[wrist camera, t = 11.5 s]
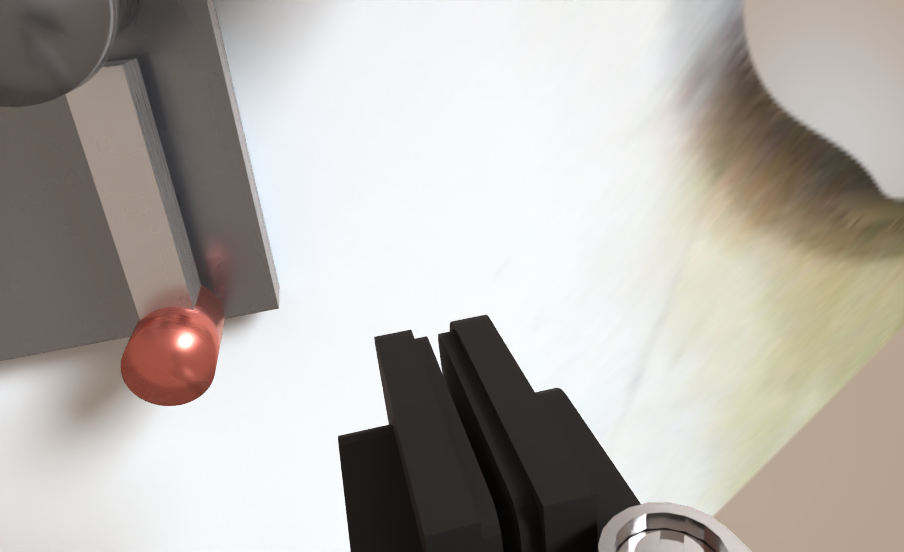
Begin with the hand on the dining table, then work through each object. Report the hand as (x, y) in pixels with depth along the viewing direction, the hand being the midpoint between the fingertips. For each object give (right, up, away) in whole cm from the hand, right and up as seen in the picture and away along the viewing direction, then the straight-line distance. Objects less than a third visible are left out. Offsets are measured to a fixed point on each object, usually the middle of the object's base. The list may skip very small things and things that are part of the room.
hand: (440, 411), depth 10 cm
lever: (-9, +4, +12) cm, 15 cm away
